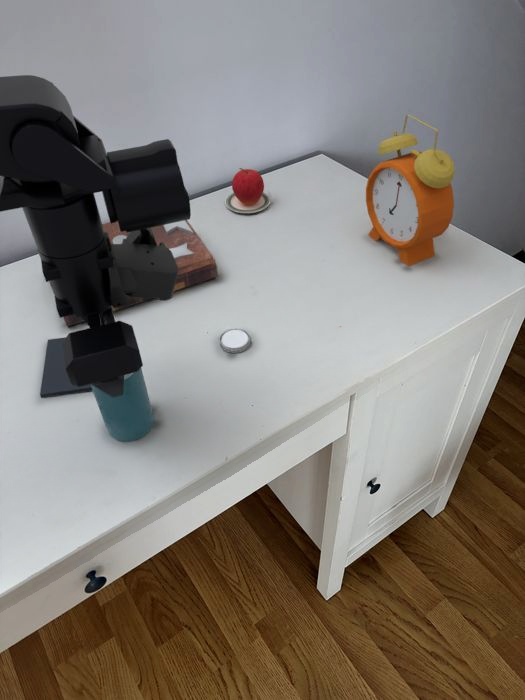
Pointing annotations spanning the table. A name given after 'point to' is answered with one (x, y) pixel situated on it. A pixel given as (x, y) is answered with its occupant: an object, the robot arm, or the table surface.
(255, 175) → the apple
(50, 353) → the mat
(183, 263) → the book
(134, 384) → the can
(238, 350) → the bottle cap
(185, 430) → the table surface
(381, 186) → the alarm clock
